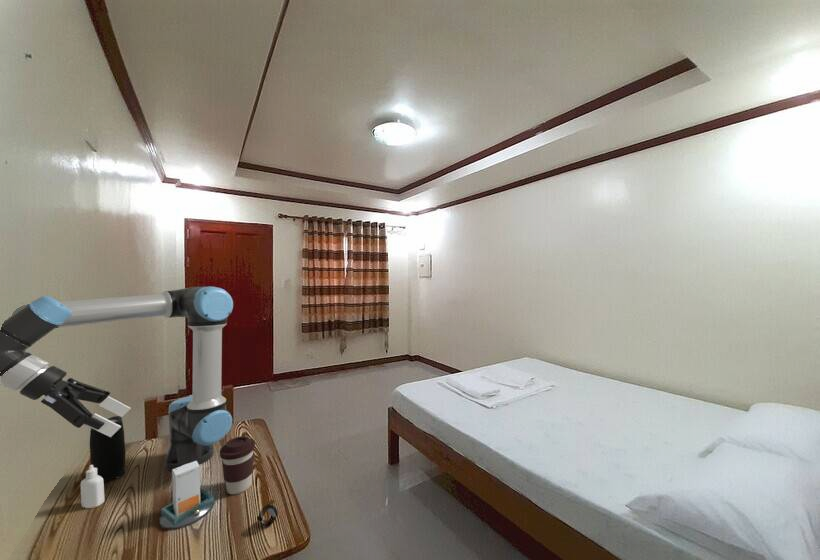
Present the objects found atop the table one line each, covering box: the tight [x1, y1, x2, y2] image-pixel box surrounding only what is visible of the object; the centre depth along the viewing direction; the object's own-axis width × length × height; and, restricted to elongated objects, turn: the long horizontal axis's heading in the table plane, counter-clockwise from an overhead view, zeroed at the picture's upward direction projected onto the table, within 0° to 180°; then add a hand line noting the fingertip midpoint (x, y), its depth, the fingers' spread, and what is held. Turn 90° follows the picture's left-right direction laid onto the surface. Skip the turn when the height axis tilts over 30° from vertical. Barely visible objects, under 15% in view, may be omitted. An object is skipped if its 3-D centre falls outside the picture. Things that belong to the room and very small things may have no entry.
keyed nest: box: [159, 487, 216, 531], centre depth 91 cm, size 13×13×3 cm
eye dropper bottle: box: [80, 464, 105, 509], centre depth 94 cm, size 4×6×12 cm
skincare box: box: [171, 461, 201, 517], centre depth 91 cm, size 6×4×12 cm
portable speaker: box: [89, 415, 126, 482], centre depth 107 cm, size 9×9×20 cm
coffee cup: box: [219, 435, 256, 495], centre depth 100 cm, size 10×10×15 cm
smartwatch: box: [256, 503, 279, 528], centre depth 85 cm, size 4×5×5 cm
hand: (121, 421), depth 84 cm, fingers open, 13 cm apart
